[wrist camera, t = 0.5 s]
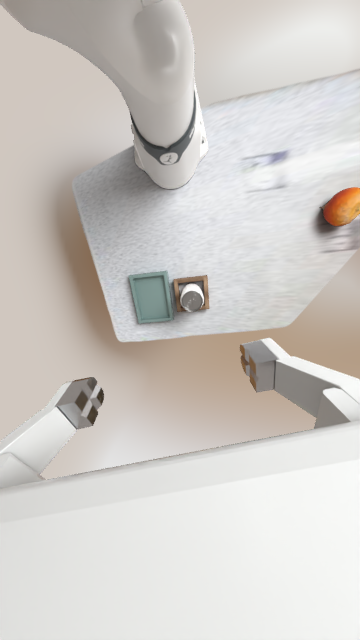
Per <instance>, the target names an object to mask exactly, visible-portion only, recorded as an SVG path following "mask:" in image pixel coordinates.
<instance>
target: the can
mask: <svg viewBox="0 0 360 640" xmlns="http://www.w3.org/2000/svg"><path fill="white" fill-rule="evenodd" d="M180 302H181V305H182V307H183V308H184V309H185V310H187V311H190V312H194V311H197V310H199V309H200V308H201V307H202V305H203V303H204V296H203V293H202V291H201V289H200V287H199V286H198V285H196V284H188V285H186V286H185V287H184V288H183V290H182V294H181V298H180Z"/></svg>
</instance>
